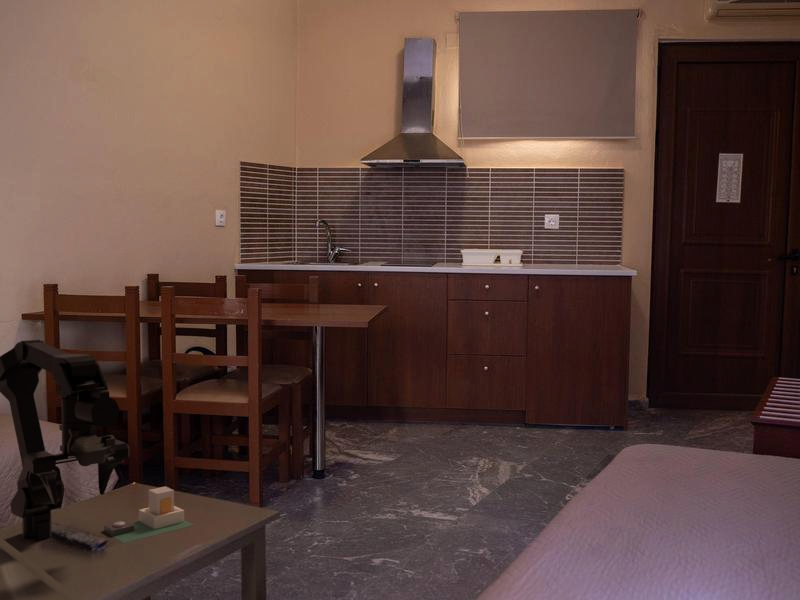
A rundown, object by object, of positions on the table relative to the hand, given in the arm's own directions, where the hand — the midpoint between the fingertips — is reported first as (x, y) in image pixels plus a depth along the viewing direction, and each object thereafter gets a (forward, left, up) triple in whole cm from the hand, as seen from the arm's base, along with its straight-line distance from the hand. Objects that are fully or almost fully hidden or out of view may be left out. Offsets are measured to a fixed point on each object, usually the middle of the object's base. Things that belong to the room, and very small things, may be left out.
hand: (78, 499), depth 157 cm
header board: (-5, +17, -12) cm, 21 cm away
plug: (-7, +21, -11) cm, 25 cm away
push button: (-7, +12, -12) cm, 18 cm away
